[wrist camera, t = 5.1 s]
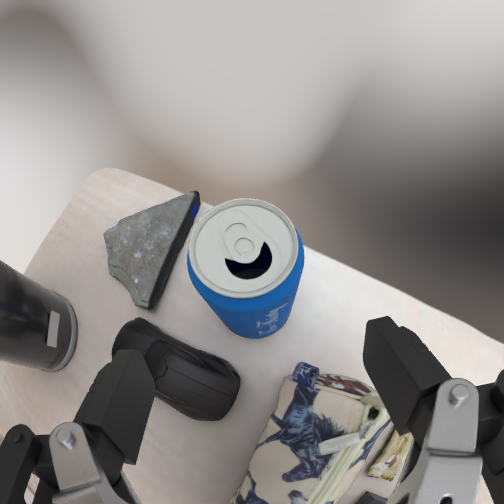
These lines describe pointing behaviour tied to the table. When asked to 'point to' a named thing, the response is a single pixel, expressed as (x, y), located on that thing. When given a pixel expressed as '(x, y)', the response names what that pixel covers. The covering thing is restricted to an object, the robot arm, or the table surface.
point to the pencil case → (313, 440)
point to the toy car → (182, 371)
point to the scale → (371, 499)
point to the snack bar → (391, 456)
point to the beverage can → (247, 265)
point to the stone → (150, 246)
